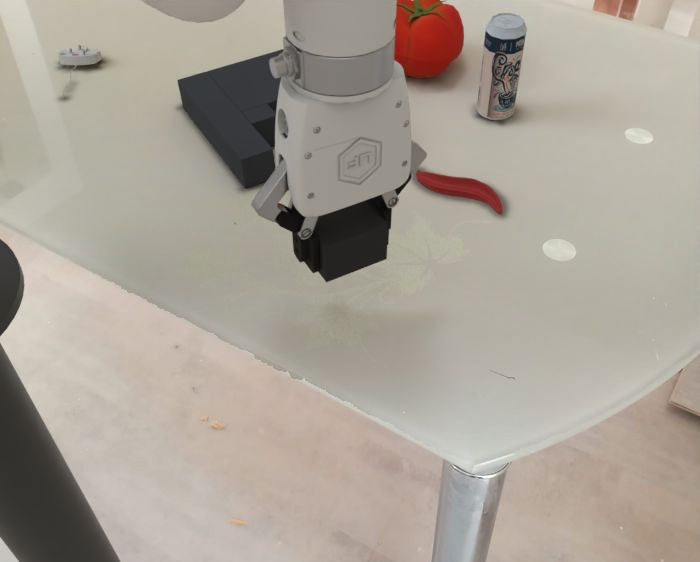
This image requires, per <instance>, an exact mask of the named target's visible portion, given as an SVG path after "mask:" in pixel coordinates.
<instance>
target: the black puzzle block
mask: <svg viewBox="0 0 700 562" xmlns="http://www.w3.org/2000/svg"><path fill="white" fill-rule="evenodd" d="M314 231H315V232H316V233H317V234H318V236H319V239H320V240H319V247H320V269H319V271H318V272H317V273H319V275H320V276H321V277H322V279H323V280H324V282H325V283H329V282H331V281H334V280H336V279H339V278H341V277H344V276H347V275H349V274H352V273H354V272H357V271H360V270H362V269H364V268H367V267H370V266H373V265H376V264H378V263H381V262H383V261H385V260H387V258H388V245H387V241H388V223H387V222H386V221H385V220H384V218H383V217H382V216H381V215H380V214H379V213H378V212H377V211H376V210H375V209H374V208H373V207H372V206H371V204H370V203H369V202H368V201H367V200H365V201H362V202H360V203H357V204H354V205H351V206H348V207H345V208H343V209H340V210H337V211H334V212H331V213H328V214H325V215H322V216H319V217H318V220H317V222H316V225H315V228H314Z"/></svg>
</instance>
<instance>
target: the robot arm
mask: <svg viewBox="0 0 700 562" xmlns="http://www.w3.org/2000/svg"><path fill="white" fill-rule="evenodd" d="M140 1H141V2H142V3H144V4H146V5H147V6H149V7H151V8H152V9H155V10H157V11H158V12H160V13H162V14H165V15H166V16H169V17H171V18H175V19H176V20H180V21H184V22H190V23H196V24H199V23H213V22H215V21H218V20H222V19H225V18H226V17H228V16H229V15H231V14H232V13H234V12H236V11H237V10H238V9H239V8H240V7H241V6H242V5H243V4H244V3H245V1H246V0H140ZM282 3H283V5H282V6H283V19H284V32H285V36H283V37H282V42H283V43H282V44H283V49H284V50H283V53H280V54H279V56H277V57H274V58H271V59H270V60H269V66H270V70H271V73H272V75H273V76H274V78H280V77H281V81H280V87H279V92H278V100H277V108H276V120H275V146H274V162H275V170H274V172H273V173H272V174H271V176H270V177H269V178H268V180H267V181H265V182H264V184H263V185H262V187H261V188H260V189H259V191H258V192H257V193H256V195H255V196H254V198H253V199H252V201H251V204H250V205H251V207H252V208H253V210H254V212H255V213H256V214H257V215H258V216H259V217H260V218H263V219H265V220H267V221H270V222H271V223H276V224H277V225H278V226H279V227H280V228H283V229H285V230H287V231H289V232H291V236H292V238H291V239H292V250H293V254H294V257H295V258H296V259H297V261H298V262H299V263H304V264H305V265H306V267H307V268H308V269H309V270H310V272H311V273H312V274H315V273H319V272H318V271H319V269H320V247H319V240H320V239H319V236H318V234H317V233H316V232H315V231H314V228H315V225H316V222H317V220H318V217H319V216H322V215H325V214H328V213H331V212H334V211H337V210H340V209H343V208H345V207H348V206H351V205H354V204H357V203H360V202H362V201H365V200H367V201H368V202H369V203H370V204H371V206H372V207H373V208H374V209H375V210H376V211H377V212H378V213H379V214H380V215H381V216H382V217H383V218H384V220H385V221H386V222H387V223H388V241H387V246H388V245H389V242H390V241H389V240H390V239H389V238H390V230H391V228H392V214H393V208H395V207H397V205H398V204H399V200H400V199H399V195H400V193H402V191H403V190H404V189H405V188H406V186H407V185H408V183H410V181H411V179H412V174H413V173H416V172H417V170H418V168H419V167H420V166H421V165H422V163H423V162H424V161H425V160H426V159H427V157H428V153H427V151H426V150H425V149H424V148H422V146H420V144H419V143H417V142H415V140H413V139H412V120H411V106H410V100H409V92H408V86H407V80H406V75H405V74H404V70H403V67H402V66H401V65H400V64H399V63H398V62H396V61H395V60H394V53H395V26H396V3H397V0H282ZM287 192H289V195H290V198H289V202H288V205H285V204H283V203H280V201H281V200H282V199H283V197H284V196H285V195H286V193H287Z"/></svg>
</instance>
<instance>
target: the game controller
mask: <svg viewBox="0 0 700 562" xmlns="http://www.w3.org/2000/svg"><path fill="white" fill-rule="evenodd" d="M57 56H58V60H59V63H60V65H65V66H74V67H72V68H71V70H70V72H69V79H70V80H69V84H68V86H67V87H65V88H64V90H63V93H62V97H63V99H66V98H65V92H66V90H67V88H69V87H70V86H71V82H72V72H73V71H74V70H73V69H77V66H89V65H94V64H98V63H99V62H100V61H101V60H103V59H102V58H103V57H102V53H101V50H100V49H97V48H95V49H92V50H89V46H87V45H81V44H78V45H77V48H76V49H74V50H73V49H72V48H71V47H69V48H68V49H66V48H65V49H64V48H63V49H60V50H59V51H58V53H57Z"/></svg>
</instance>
